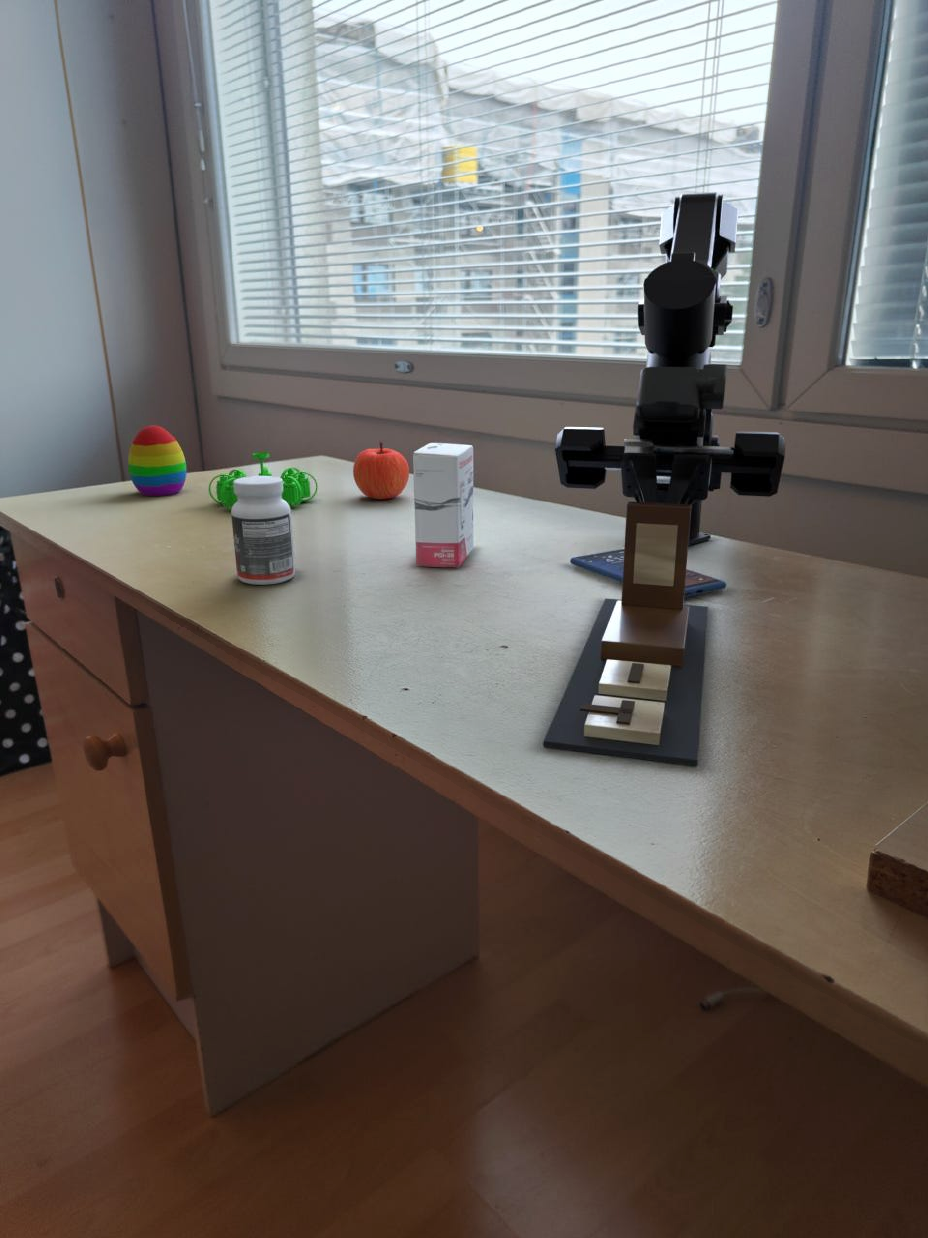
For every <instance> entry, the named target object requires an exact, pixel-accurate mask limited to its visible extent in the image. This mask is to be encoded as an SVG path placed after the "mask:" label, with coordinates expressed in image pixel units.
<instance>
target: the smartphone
mask: <svg viewBox="0 0 928 1238" xmlns="http://www.w3.org/2000/svg"><path fill="white" fill-rule="evenodd" d="M570 564H571V565H573V566H576V567H578V568H581V569H583V570H586V571H589V572H592V573H594V574H596V575H600V576H602V577H604V578H608V579H610V580H613V581H615V582H618V583H620V584H622V582H623V564H624V548H620V549H613V550H608V551H603V552H597V553H590V554H584V555H579V556H573V557H571V558H570ZM726 587H727V583H726V581H724V580H722V579H719V578H716V577H713V576H709V575H707V574H703V573H700V572H697V571H694V570H690V569H688V568H687V569H686V581H685V594H684V598H688V597H692V596H697V595H702V594H706V593H711V592H715V591H720V590H721V591H722V590H724V589H725V588H726Z"/></svg>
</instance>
